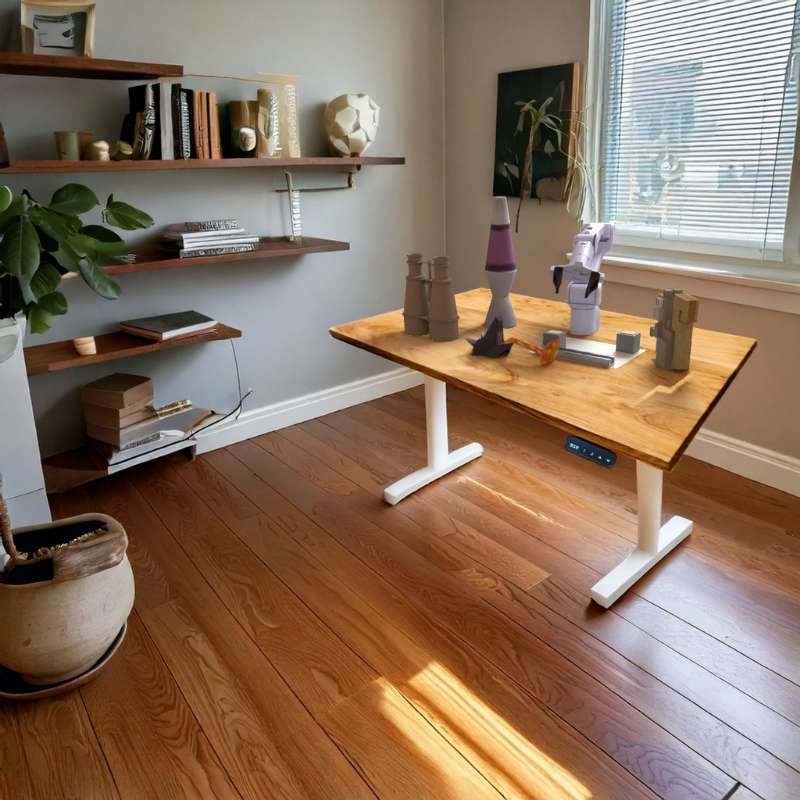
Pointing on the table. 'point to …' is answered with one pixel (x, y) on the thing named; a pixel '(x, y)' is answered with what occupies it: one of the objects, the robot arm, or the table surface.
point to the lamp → (500, 265)
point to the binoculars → (430, 300)
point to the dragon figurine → (508, 344)
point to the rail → (584, 356)
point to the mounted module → (555, 337)
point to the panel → (600, 350)
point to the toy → (674, 328)
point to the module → (628, 341)
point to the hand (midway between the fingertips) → (571, 292)
